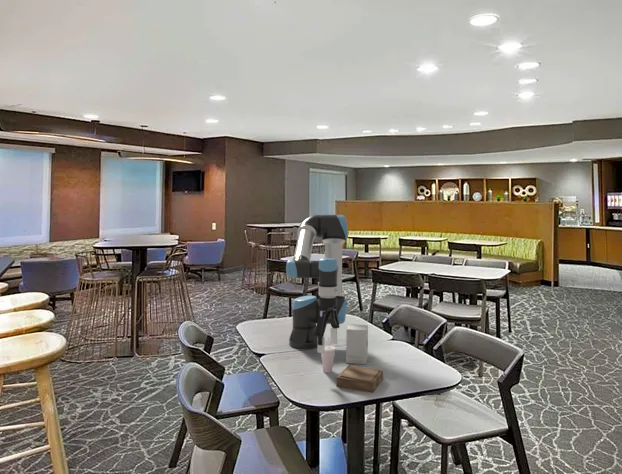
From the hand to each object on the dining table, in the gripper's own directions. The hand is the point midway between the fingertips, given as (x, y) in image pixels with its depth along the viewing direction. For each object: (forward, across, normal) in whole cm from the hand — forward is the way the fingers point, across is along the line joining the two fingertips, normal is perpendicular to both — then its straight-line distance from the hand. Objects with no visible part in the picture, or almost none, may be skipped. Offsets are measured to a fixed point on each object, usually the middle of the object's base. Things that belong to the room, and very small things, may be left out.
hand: (327, 348), depth 178 cm
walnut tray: (+10, -6, -16) cm, 19 cm away
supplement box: (+10, +18, -7) cm, 21 cm away
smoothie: (+10, 0, 0) cm, 10 cm away
